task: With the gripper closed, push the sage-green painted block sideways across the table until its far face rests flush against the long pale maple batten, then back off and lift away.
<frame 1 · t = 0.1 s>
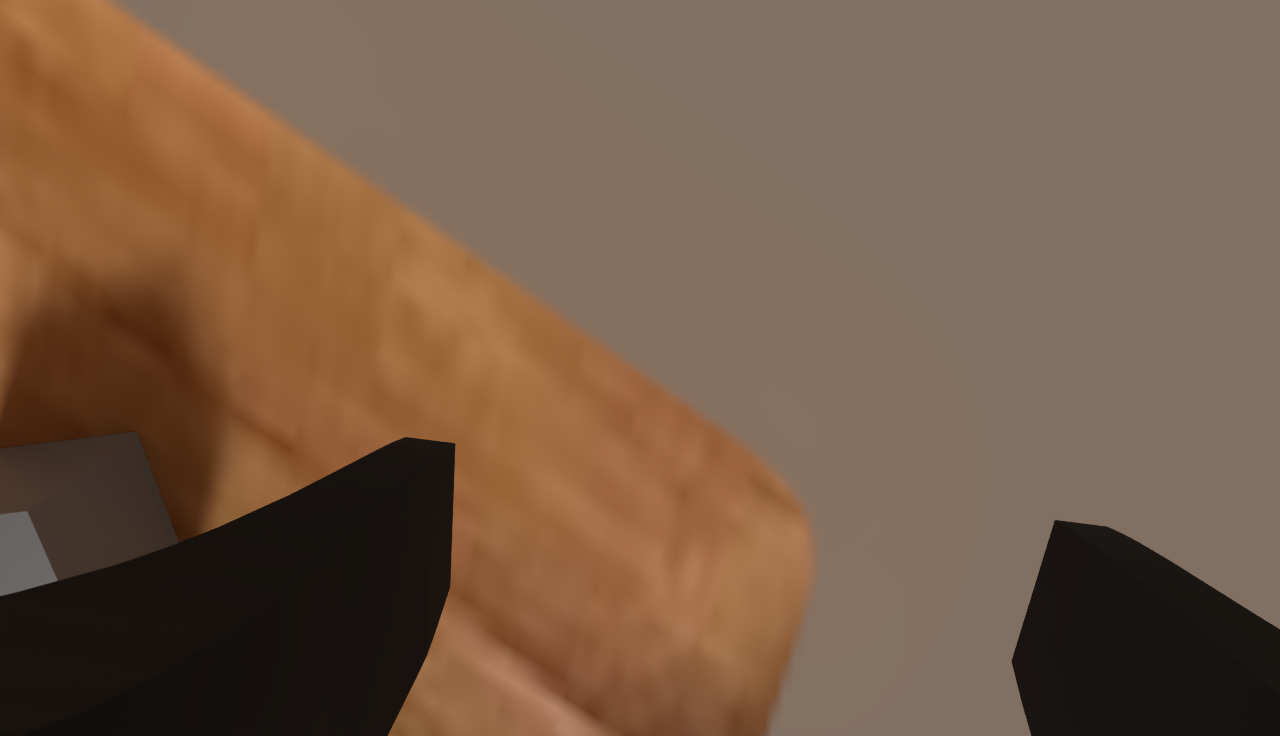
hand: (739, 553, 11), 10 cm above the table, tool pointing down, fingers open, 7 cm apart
grey cube: (93, 509, 24), on the table
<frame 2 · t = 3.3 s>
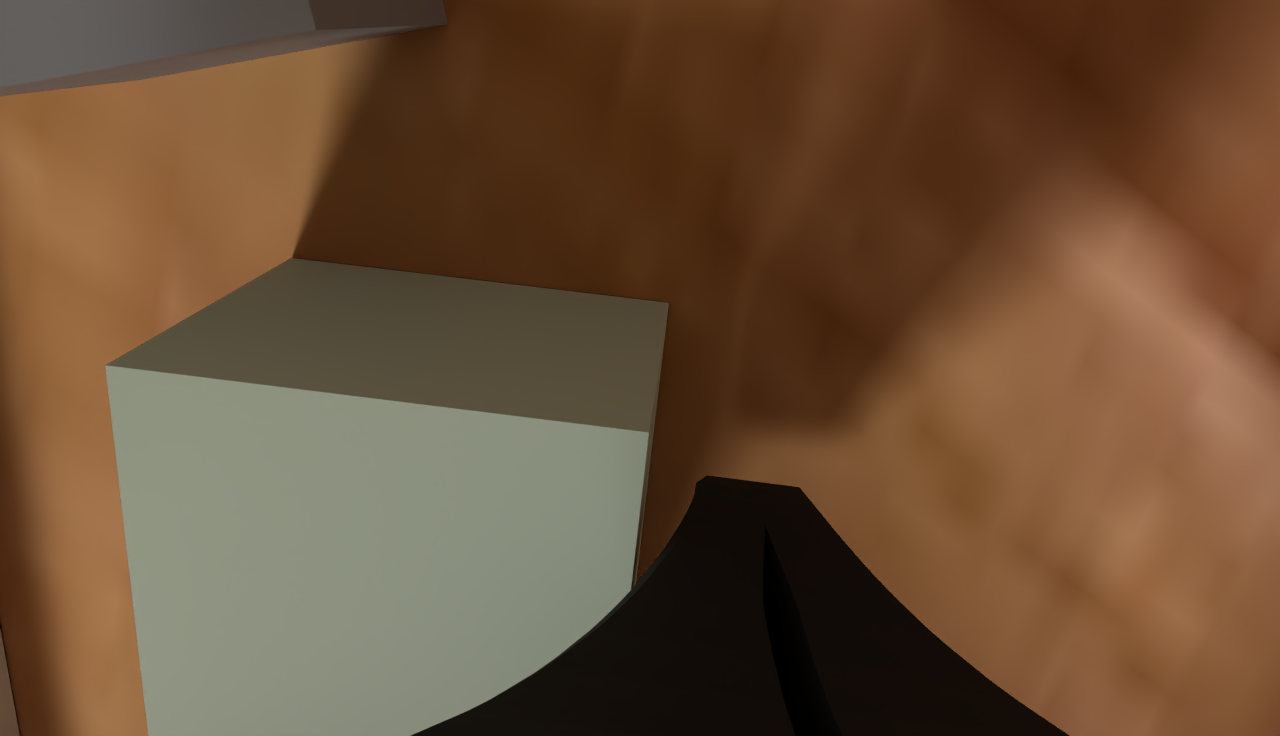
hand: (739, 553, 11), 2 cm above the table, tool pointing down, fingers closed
sage block: (472, 451, 13), on the table, touching gripper
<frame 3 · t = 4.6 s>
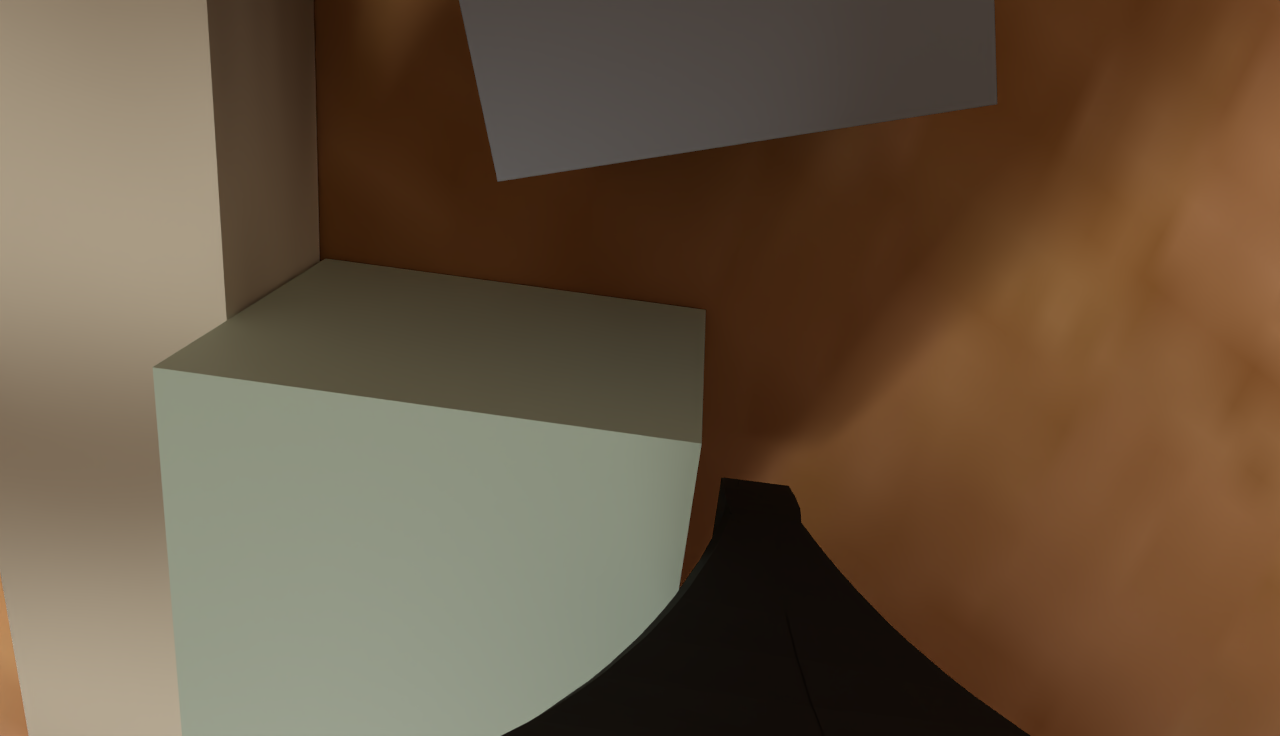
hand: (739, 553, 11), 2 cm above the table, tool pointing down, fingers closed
maple batten: (219, 420, 13), on the table
sage block: (502, 455, 13), on the table, touching gripper, maple batten
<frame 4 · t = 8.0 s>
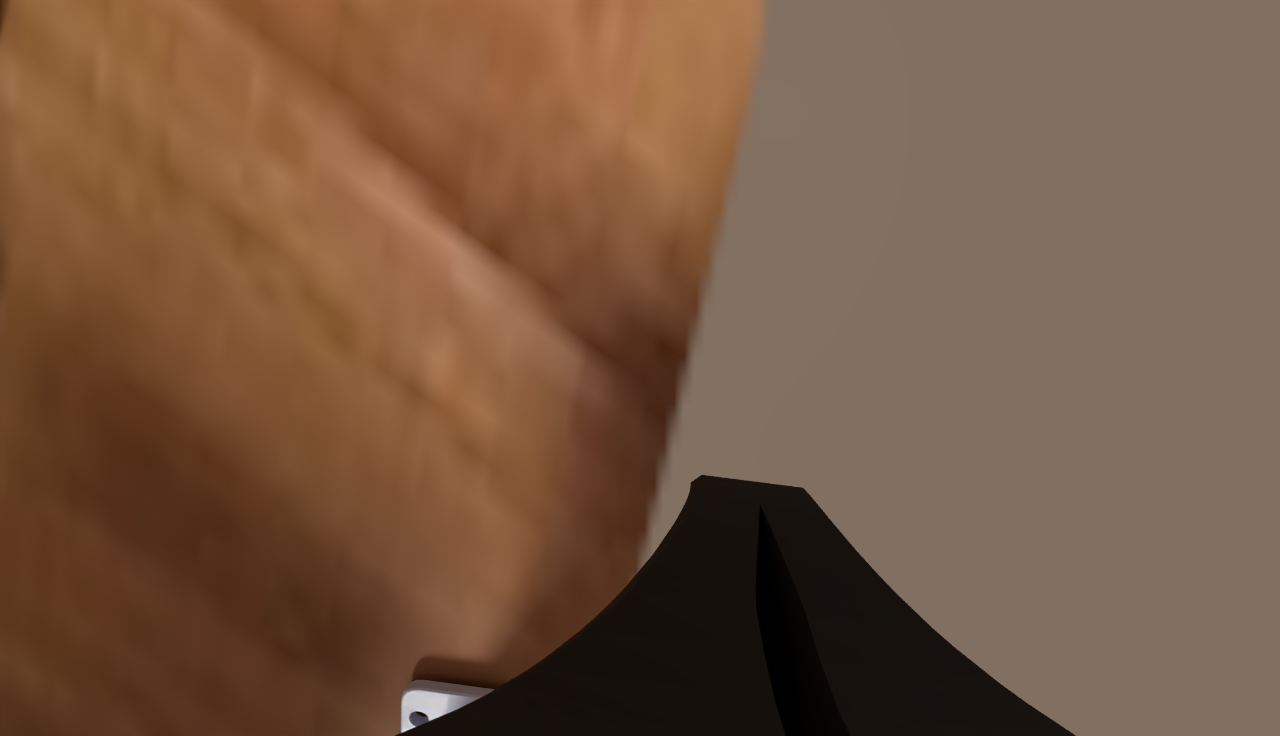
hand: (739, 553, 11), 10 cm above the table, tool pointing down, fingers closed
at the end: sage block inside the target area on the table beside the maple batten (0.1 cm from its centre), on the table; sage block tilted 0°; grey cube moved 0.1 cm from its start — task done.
